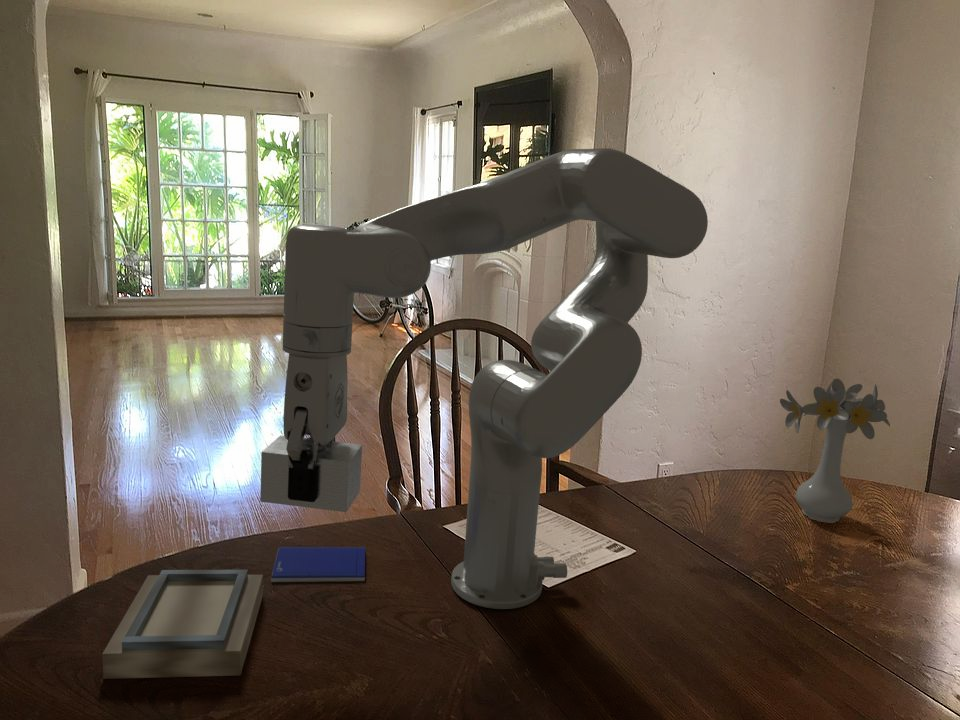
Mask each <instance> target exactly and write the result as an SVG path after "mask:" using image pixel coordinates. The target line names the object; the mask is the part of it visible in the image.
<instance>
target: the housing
mask: <svg viewBox="0 0 960 720" xmlns="http://www.w3.org/2000/svg"><path fill="white" fill-rule="evenodd" d="M303 440H311V441H313V438H310V437H304V439H303ZM287 443H288V441H287V440H286V438H285V437H284V435H281V434H280V435H279V436H278V437H277V438H276V439H275V440H274V441H272V442H271V443H270V444H268V446H266V447H265V448H264V449H263V450H262V451H260V452H261V459H260V499H259V501H260V503H268V504H276V505H284V506H292V507H293V506H294V507H302V508H309V509H317V510H326V511H335V512H342V513H347V512H348V510H349V509H350V507H351V506H352V504H353V503H354V501H355V500H356V499H357V496H359V494H360V492H361V474H362V458H363V456H362V455H363V444H359V443H349V442H341V441H335V442H334V441H330V442H329V443H328V444H326V445H321V444H320V443H319V444H318V450H317V457H316V464H315V467H318V487H317V499H316V500H315V502H306V501H297V500H290V499H289V498H288V474H289V467H288V461H289V457H288V456H289V455H288V452H287V449H286V448H287ZM310 448H311V446H304V445H303V450H306V451H307V453H308V455H309V454H310Z"/></svg>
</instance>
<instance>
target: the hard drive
mask: <svg viewBox="0 0 960 720" xmlns="http://www.w3.org/2000/svg"><path fill="white" fill-rule="evenodd" d="M274 561H275V562H274V565H273V569H272V572H271V578H270V582H271V583H290V582H292V583H297V582H298V583H299V582H365V579H366V547H365V546H359V547H357V546H356V547H350V546H348V547H347V546H345V547H343V546H341V547H339V546H338V547H332V546H331V547H327V546H324V547H323V546H321V547H319V546H317V547H313V546H312V547H309V546H307V547H304V546H302V547H298V546H297V547H296V546H294V547H293V546H289V547H287V546H285V547H283V546H282V547H281V546H280V547H278V549H277V553H276V556H275V560H274Z"/></svg>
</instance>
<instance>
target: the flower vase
mask: <svg viewBox="0 0 960 720" xmlns="http://www.w3.org/2000/svg"><path fill="white" fill-rule="evenodd" d="M863 387H864V386H863V384H861V383H855V384H853V385H850V386H849V387H848V388H847V389H846V387H845V384H844V383H843V381H842V380H841V379H840V378H837V377H836V378H833V380H832V381H831V382H830V383H829V385H828V386H827V388H825V387H824V388H822V387H821V386H815V387H814V388H813V396H814V399H815V402H812V403H808V404H805V405H803V406H801V404H800V403H799V402H797V400H796V398H795V397H794V396H793V395H792V394H791V392H790V391H789V390H788V389H786V392H785V394H786V397H787V399H788V400H787V399H785V398H780V399H779V402H780V403H779V404H780V406H781V407H782V408H783V409H784V410H785V411H787V412H789V413H788V414H787V415H786V417H785V426H786V428H787V429H788V428H790V427H792V425H793V424H794V430H795V432H796V434H798V433H799V432H800V425H801V421H802V416H803V417H804V416H806V415H810V416H817V419H816V427H817V428H818V430H821V431H822V430H825V429H826V432H825V433H826V434H825V440H824V444H823V449H822V454H821V458H820V462H819V465H818V467H817V469H816V471H815V472H814V473H813V475H812V476H811V477H810V478H809V479H807V480H805V481H803V482H802V483H801V484H800V485H799V486H798V487H797V489H796V491H795V500H796V502H797V504H798V505H799V507H800V508H802V509H801V510H802V511H801V512H803V513H802V515H803V514H804V515H806V516H808V517H810V518H812V519H815V520H818V521H823V522H836V521H838V522H840V520H841V518H842V517H844V516H846V515H848V514H849V513H850V512H851V511H852V509H853V499H852V496H851V493H850V492H849V491H848V490H847V488H846V487H845V484H844V482H843V480H842V475H841V464H842V457H843V450H844V449H843V448H844V444H845V439H846V435H847V434H853V433H854V432H856V431H857V430H858V429H860V431H861V433H862V434H863V436H865V438H866V439H868V440H873V439H874V438H875V435H876V433H875V428H874V426H873V425H872V423H879V422H884V423H885V424H886V425H887V426H888V427H891V423H890V421H889V420H888V414H887V413H886V412H885V410H886V404H885V402H884V400H883V399H878V386H877V383H874V387H873V391H872V393H868V394H866V395H865V396H864V397H862V398H857V397H858V394H859V393H860V392H861V391H862V389H863ZM804 515H803V516H804ZM806 516H805V517H806Z"/></svg>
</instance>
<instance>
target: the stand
mask: <svg viewBox="0 0 960 720" xmlns="http://www.w3.org/2000/svg"><path fill="white" fill-rule="evenodd" d="M263 598H264V574H249V569H161V571H160V573H159V574H158V575H157V574H152V575H151V574H150V575H147V576H146V578H145V580H144V582H143V583H142V585H141V587H140V589H138V591H137V594H136V595H135V597H134V599H133V601H132V602H131V604H130V606H129V607H128V609H127V611H126V613H125V615H124V616H123V617H122V619H121V620H120V622H119V624H118V626H117V628H116V629H115V631H114V633H113V634H112V636H111V638H110V640H109V642H108V644H107V645H106V646H105V648H104V649H103V651H102V654H101V656H102V672H103V673H102V674H103V680H105V679H106V680H107V679H109V680H111V679H112V680H113V679H114V680H115V679H145V678H147V679H149V678H151V679H152V678H154V679H155V678H185V677H186V678H191V677H224V676H225V677H226V676H228V677H229V676H232V677H233V676H242V671H243V669H244V664H245V661H246V658H247V654H248V651H249V646H250V644H251V640H252V636H253V633H254V629H255V625H256V622H257V618H258V614H259V612H260V609H261V603H262V600H263Z"/></svg>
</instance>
